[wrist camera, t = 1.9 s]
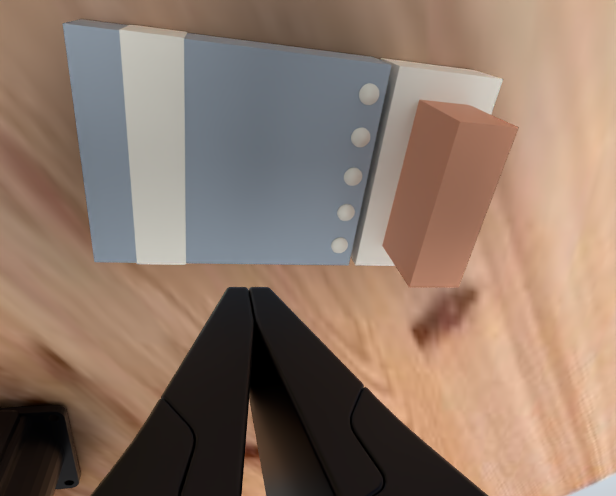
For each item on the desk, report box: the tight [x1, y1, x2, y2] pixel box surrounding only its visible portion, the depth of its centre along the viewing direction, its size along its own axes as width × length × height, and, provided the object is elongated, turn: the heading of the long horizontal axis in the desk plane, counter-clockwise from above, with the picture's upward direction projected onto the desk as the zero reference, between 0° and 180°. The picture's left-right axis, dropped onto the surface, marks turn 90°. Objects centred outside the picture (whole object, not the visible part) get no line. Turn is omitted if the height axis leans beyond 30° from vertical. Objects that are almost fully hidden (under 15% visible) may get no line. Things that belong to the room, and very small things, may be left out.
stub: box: [351, 58, 519, 287], centre depth 16 cm, size 8×4×5 cm, turn 172°
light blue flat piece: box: [63, 19, 391, 265], centre depth 16 cm, size 8×10×2 cm
